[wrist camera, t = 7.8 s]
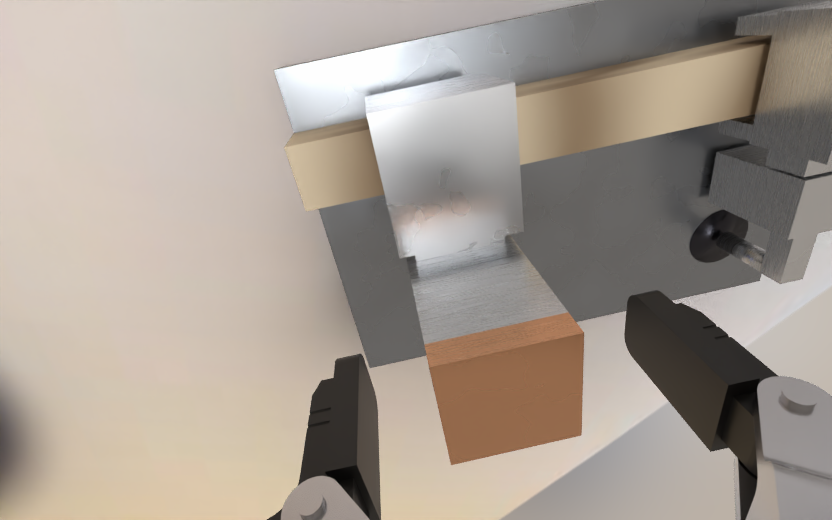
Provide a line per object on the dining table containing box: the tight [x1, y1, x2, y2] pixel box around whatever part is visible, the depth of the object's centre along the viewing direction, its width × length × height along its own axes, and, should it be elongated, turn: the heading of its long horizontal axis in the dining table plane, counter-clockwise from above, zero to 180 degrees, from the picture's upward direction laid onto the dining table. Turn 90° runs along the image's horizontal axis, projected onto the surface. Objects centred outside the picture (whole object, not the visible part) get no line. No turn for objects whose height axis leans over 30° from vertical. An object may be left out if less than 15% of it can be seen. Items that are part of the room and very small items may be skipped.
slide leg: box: [365, 73, 584, 465], centre depth 14 cm, size 4×11×10 cm, turn 11°
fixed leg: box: [708, 0, 832, 284], centre depth 16 cm, size 4×11×5 cm, turn 11°
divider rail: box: [284, 35, 773, 211], centre depth 16 cm, size 22×2×2 cm, turn 100°
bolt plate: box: [274, 0, 816, 368], centre depth 19 cm, size 22×15×1 cm
